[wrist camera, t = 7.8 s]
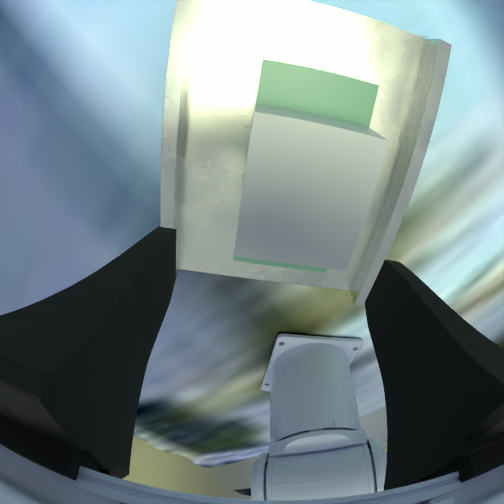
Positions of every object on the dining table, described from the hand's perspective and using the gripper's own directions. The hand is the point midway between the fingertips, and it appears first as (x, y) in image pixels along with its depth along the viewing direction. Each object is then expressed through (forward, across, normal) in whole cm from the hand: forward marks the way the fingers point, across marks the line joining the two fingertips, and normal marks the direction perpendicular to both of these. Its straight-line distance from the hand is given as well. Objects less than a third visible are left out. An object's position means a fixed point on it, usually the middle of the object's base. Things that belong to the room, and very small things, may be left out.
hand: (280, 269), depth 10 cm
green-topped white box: (+6, -1, -2) cm, 6 cm away
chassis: (+9, -1, -2) cm, 9 cm away
